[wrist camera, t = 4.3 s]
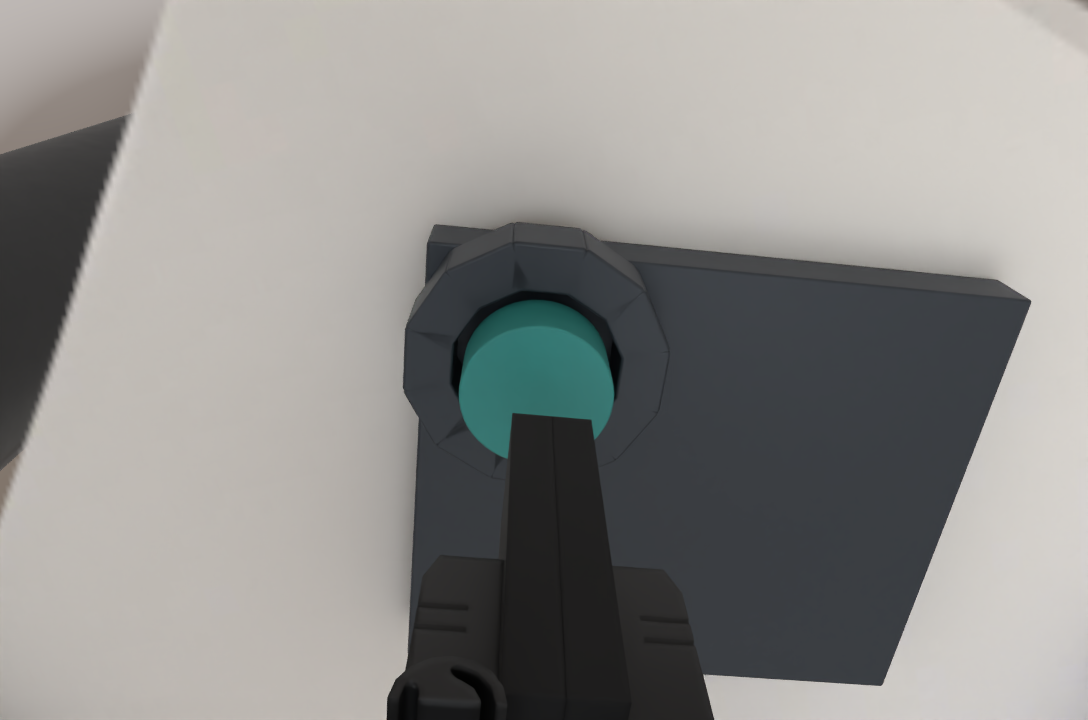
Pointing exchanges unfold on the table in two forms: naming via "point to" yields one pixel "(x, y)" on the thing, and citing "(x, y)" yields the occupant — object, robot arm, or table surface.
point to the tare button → (533, 371)
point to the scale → (732, 430)
